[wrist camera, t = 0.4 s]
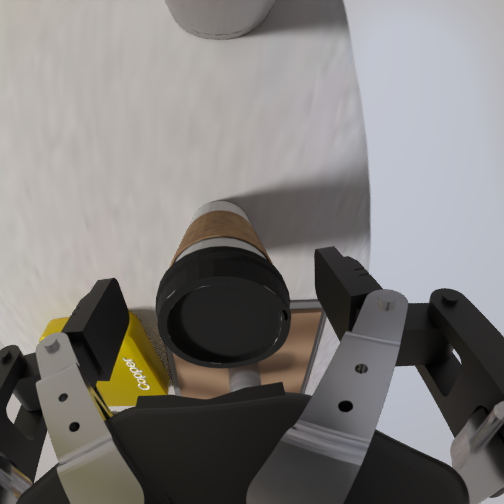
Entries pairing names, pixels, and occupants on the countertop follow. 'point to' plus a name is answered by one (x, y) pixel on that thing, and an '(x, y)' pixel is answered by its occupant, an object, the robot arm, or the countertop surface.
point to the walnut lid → (256, 364)
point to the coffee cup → (222, 293)
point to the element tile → (128, 366)
